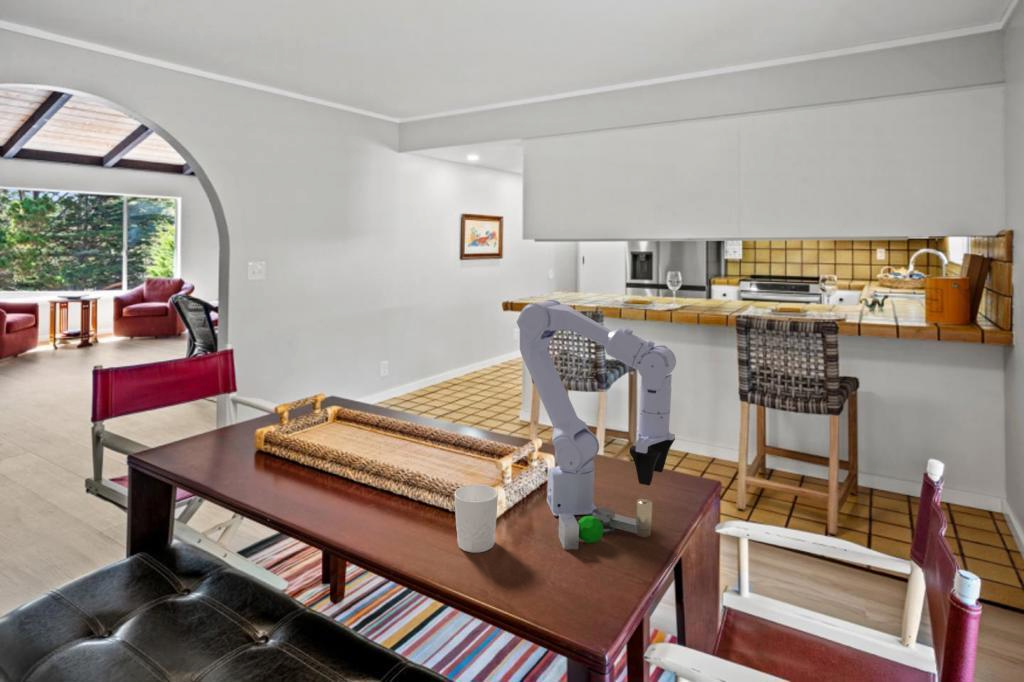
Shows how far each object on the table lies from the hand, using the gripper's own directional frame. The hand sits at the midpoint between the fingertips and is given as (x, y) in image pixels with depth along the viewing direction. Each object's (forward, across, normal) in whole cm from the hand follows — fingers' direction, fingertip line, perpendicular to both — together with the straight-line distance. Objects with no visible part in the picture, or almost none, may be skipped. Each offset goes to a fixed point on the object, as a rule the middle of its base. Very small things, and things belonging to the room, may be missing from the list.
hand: (651, 477), depth 120 cm
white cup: (+10, -24, +25) cm, 36 cm away
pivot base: (+10, -6, +7) cm, 14 cm away
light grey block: (+10, -15, +10) cm, 21 cm away
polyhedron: (+10, -12, +7) cm, 18 cm away
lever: (+9, -6, +3) cm, 11 cm away
